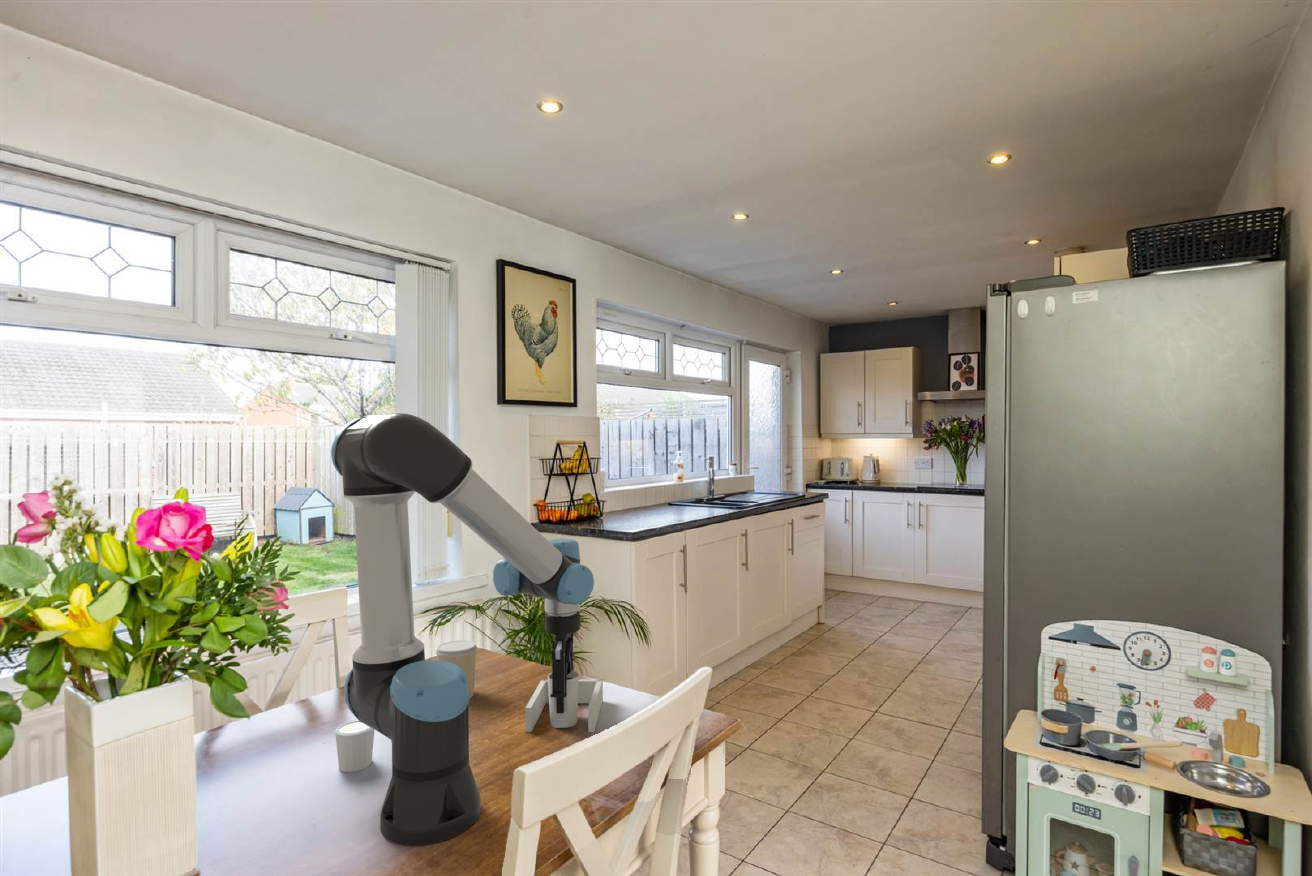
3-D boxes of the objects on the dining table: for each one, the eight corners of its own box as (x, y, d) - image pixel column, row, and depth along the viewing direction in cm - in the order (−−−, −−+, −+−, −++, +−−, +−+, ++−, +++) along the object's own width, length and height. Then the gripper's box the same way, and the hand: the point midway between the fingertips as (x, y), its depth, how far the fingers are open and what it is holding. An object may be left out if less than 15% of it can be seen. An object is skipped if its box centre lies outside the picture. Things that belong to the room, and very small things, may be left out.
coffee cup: (433, 693, 161) (433, 643, 161) (473, 686, 165) (473, 638, 165) (438, 706, 153) (438, 653, 153) (480, 699, 157) (480, 648, 157)
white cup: (582, 716, 146) (581, 670, 146) (575, 729, 139) (575, 681, 140) (552, 715, 147) (552, 669, 147) (544, 728, 140) (543, 680, 140)
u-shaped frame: (525, 732, 138) (525, 707, 138) (541, 701, 155) (541, 679, 155) (594, 732, 138) (593, 707, 138) (602, 701, 155) (602, 679, 155)
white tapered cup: (331, 776, 121) (331, 737, 121) (338, 758, 127) (338, 722, 128) (372, 770, 123) (372, 732, 123) (377, 754, 129) (377, 717, 129)
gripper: (573, 623, 134) (574, 740, 134) (585, 601, 153) (586, 703, 152) (536, 623, 134) (537, 740, 134) (553, 602, 153) (554, 703, 153)
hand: (563, 720), depth 143 cm, fingers closed on white cup, 6 cm apart
